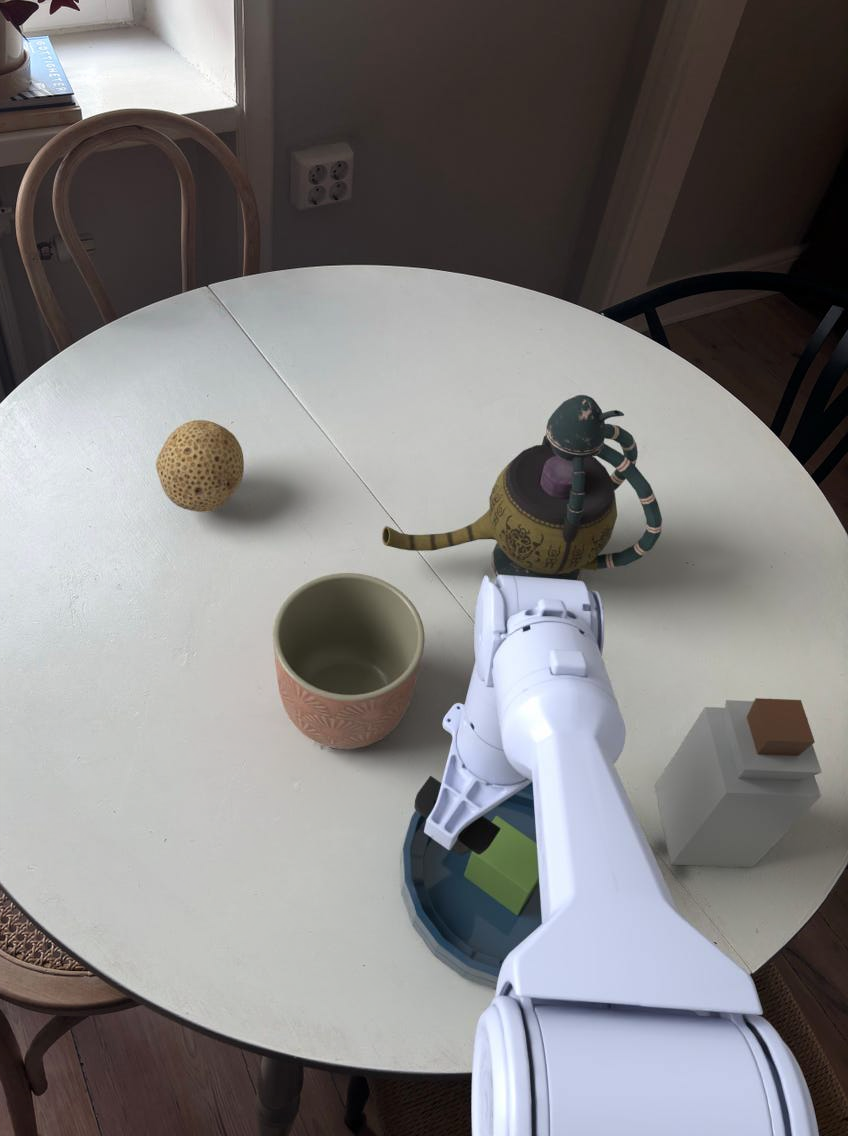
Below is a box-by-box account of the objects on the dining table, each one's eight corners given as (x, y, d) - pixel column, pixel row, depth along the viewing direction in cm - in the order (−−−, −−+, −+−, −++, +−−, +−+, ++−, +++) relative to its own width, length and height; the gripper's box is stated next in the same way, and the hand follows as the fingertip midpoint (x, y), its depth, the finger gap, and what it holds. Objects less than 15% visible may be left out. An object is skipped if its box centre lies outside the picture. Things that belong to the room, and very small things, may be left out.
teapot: (635, 611, 93) (711, 445, 75) (384, 617, 90) (403, 448, 73) (606, 518, 101) (669, 349, 83) (375, 522, 99) (390, 350, 81)
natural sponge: (251, 528, 97) (247, 462, 90) (164, 539, 96) (152, 472, 88) (241, 466, 103) (236, 398, 96) (159, 475, 102) (147, 407, 94)
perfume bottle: (752, 867, 76) (848, 767, 63) (670, 864, 76) (749, 763, 62) (732, 788, 81) (817, 679, 67) (654, 785, 80) (724, 675, 67)
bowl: (641, 950, 71) (654, 935, 69) (445, 1024, 67) (451, 1012, 65) (548, 761, 81) (556, 742, 79) (372, 815, 77) (374, 797, 75)
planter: (393, 781, 79) (403, 718, 71) (255, 741, 81) (250, 675, 73) (427, 661, 87) (439, 592, 79) (301, 627, 89) (301, 557, 81)
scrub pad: (540, 878, 74) (553, 854, 70) (517, 916, 72) (529, 893, 68) (487, 840, 76) (496, 814, 72) (463, 876, 74) (471, 851, 70)
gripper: (513, 603, 64) (485, 703, 74) (391, 760, 56) (378, 848, 66) (605, 658, 62) (563, 753, 72) (492, 830, 53) (462, 910, 63)
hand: (480, 803), depth 69 cm, fingers open, 7 cm apart
